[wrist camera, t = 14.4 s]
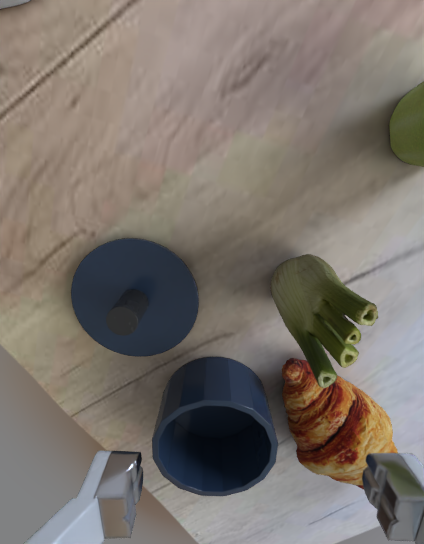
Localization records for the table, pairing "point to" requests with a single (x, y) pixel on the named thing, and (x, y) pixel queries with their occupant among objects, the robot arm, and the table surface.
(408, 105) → the plant pot
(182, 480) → the pot
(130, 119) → the table surface
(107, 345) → the lid
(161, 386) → the table surface
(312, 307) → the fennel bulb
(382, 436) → the croissant
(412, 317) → the table surface
